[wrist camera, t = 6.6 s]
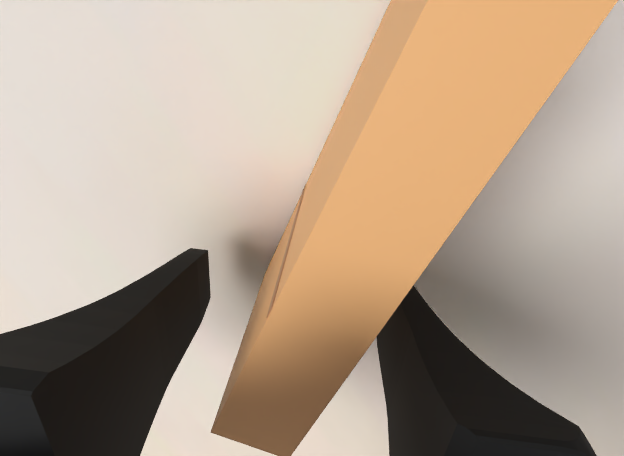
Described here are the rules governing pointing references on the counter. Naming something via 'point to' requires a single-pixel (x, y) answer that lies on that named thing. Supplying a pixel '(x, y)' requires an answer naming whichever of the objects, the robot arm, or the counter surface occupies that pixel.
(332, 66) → the counter surface
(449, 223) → the orange rectangular block
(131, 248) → the counter surface
